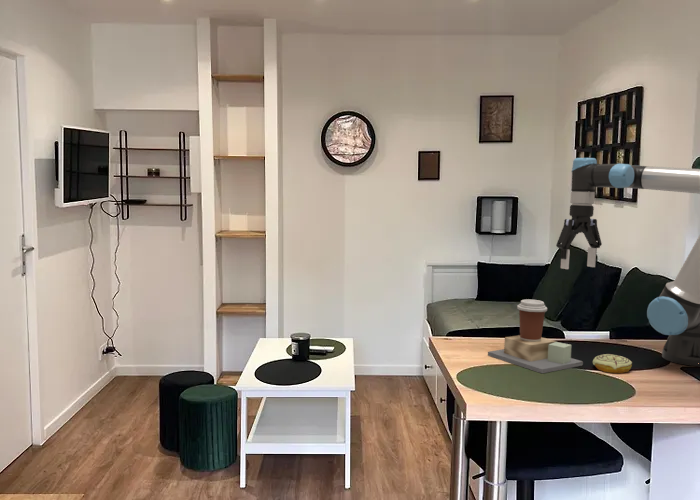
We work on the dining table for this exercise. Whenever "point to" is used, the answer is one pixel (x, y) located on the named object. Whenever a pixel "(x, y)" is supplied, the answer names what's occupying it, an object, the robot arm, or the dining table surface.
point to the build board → (534, 362)
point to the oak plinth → (527, 348)
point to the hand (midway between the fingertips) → (578, 267)
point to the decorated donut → (612, 363)
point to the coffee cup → (531, 319)
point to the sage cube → (559, 352)
